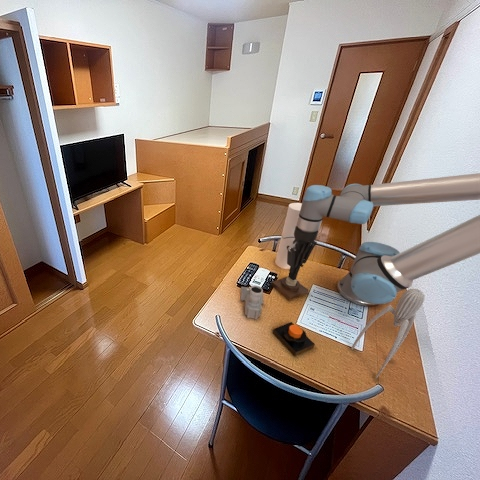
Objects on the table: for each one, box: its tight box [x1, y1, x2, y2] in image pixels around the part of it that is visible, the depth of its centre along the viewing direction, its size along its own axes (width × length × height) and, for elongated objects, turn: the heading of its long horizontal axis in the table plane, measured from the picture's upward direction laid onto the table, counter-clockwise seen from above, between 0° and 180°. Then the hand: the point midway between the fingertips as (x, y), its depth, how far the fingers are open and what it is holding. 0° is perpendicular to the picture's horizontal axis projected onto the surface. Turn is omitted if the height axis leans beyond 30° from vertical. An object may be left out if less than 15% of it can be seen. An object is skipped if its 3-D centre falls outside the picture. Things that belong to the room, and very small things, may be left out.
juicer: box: [350, 288, 425, 380], centre depth 73 cm, size 10×9×30 cm
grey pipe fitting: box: [239, 284, 264, 320], centre depth 100 cm, size 9×12×15 cm
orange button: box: [288, 324, 304, 338], centre depth 86 cm, size 4×4×2 cm
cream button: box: [286, 276, 298, 286], centre depth 108 cm, size 4×4×2 cm
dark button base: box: [272, 321, 316, 357], centre depth 88 cm, size 8×10×4 cm
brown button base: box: [270, 276, 309, 302], centre depth 109 cm, size 10×10×4 cm
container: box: [274, 202, 302, 270], centre depth 118 cm, size 9×9×30 cm
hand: (291, 277), depth 107 cm, fingers closed
